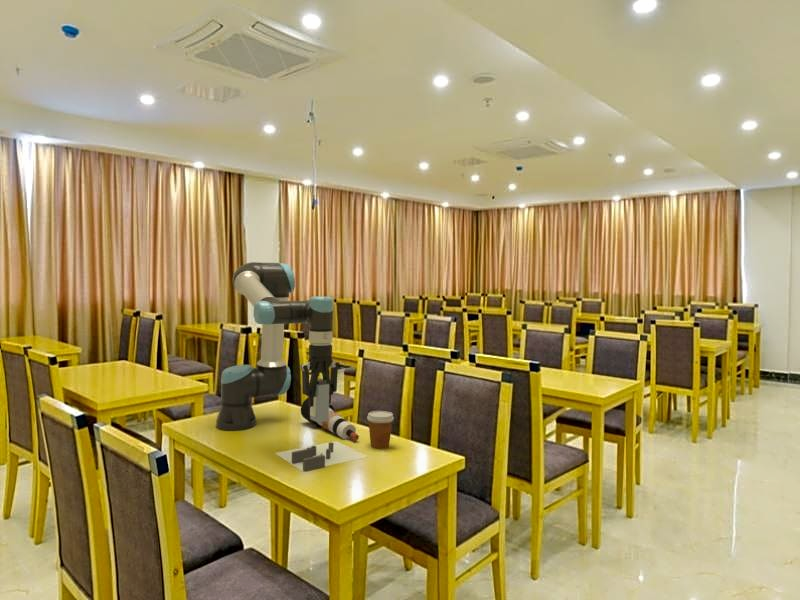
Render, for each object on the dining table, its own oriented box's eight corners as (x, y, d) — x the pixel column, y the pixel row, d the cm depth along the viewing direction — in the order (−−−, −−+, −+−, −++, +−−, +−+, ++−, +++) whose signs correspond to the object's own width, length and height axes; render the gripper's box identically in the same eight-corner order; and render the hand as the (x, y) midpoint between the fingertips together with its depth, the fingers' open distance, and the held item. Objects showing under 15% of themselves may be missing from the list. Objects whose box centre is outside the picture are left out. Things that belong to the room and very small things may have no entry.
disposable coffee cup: (379, 453, 186) (380, 419, 185) (360, 447, 192) (361, 413, 191) (398, 447, 193) (399, 414, 192) (379, 441, 199) (380, 409, 198)
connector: (310, 418, 178) (310, 379, 178) (320, 417, 181) (321, 378, 180) (317, 422, 174) (318, 381, 174) (328, 420, 177) (329, 380, 176)
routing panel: (274, 454, 182) (274, 442, 182) (336, 442, 196) (336, 431, 196) (303, 473, 166) (303, 460, 165) (368, 458, 180) (368, 446, 180)
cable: (349, 456, 195) (340, 434, 191) (305, 424, 222) (297, 404, 218) (371, 440, 200) (363, 418, 196) (326, 410, 227) (317, 391, 223)
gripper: (302, 346, 168) (301, 421, 169) (349, 343, 179) (347, 413, 180) (291, 344, 174) (290, 416, 175) (337, 341, 185) (335, 409, 186)
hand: (319, 414), depth 178 cm, fingers closed on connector, 4 cm apart
